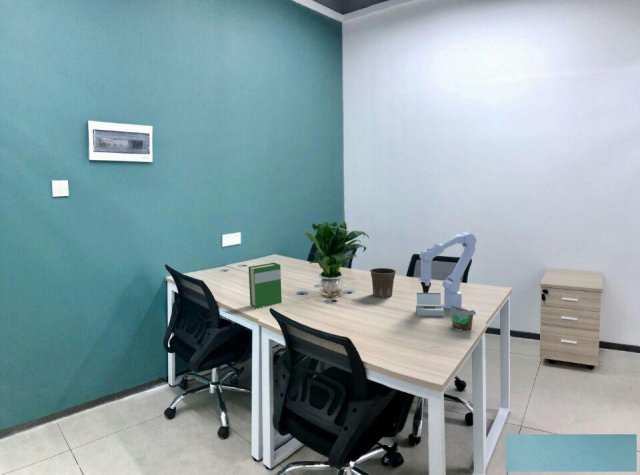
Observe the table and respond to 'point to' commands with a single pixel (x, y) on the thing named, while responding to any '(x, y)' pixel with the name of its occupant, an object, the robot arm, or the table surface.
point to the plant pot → (382, 281)
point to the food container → (461, 318)
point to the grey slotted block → (429, 311)
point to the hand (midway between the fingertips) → (425, 294)
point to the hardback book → (265, 284)
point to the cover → (428, 298)
